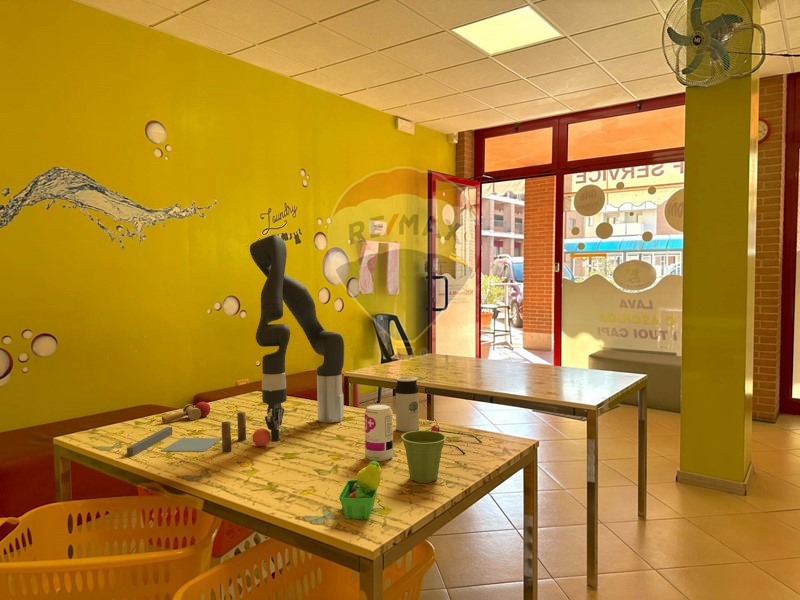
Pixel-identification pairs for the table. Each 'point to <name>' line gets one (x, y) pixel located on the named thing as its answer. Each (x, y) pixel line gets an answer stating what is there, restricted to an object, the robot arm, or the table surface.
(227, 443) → the gate post
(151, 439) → the wall
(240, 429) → the gate post
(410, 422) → the travel mug
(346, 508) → the fruit basket
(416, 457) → the plant pot
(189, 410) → the kendama
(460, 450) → the glasses
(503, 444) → the table surface
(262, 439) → the ball
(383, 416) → the supplement can
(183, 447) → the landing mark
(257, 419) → the table surface
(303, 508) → the table surface
